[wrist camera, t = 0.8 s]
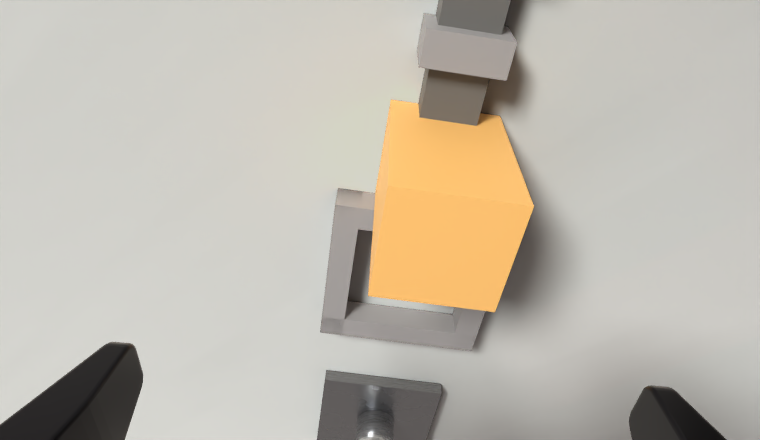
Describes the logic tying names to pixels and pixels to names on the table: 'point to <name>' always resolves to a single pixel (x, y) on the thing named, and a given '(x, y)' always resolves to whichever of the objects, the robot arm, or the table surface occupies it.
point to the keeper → (376, 408)
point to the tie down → (437, 194)
